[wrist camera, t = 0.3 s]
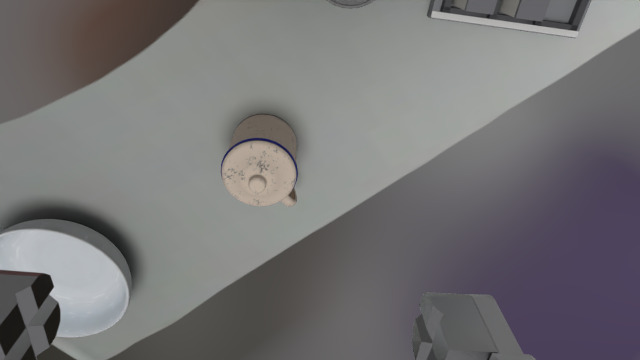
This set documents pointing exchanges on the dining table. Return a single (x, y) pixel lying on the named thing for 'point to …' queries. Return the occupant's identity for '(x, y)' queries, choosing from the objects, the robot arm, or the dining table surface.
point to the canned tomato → (350, 3)
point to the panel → (559, 18)
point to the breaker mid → (525, 9)
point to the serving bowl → (72, 271)
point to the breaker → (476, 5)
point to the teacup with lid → (261, 162)
